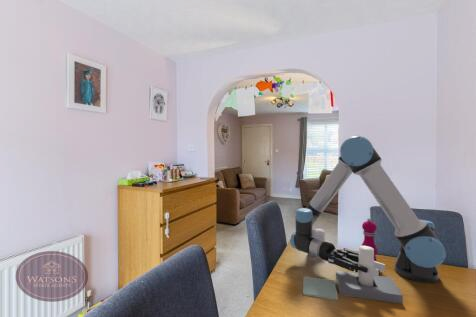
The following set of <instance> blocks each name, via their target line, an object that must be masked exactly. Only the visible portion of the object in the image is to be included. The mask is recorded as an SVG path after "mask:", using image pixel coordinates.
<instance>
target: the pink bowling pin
mask: <svg viewBox="0 0 476 317" xmlns="http://www.w3.org/2000/svg"><path fill="white" fill-rule="evenodd" d="M361 226H362V230H363V231H362V233H363V235H364V238H363V241H362V243H361V245H360V246H369V247H372V248H373V249H374V261H376V262H377V255H378V248H377V246H376V244H375V238H374V237H375V236H376V231H377V225H376V223H375V222H373V221H372V218H370V217H368V218H367V220H366V221H364V222H362V225H361Z"/></svg>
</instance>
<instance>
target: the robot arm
mask: <svg viewBox="0 0 476 317" xmlns="http://www.w3.org/2000/svg"><path fill="white" fill-rule="evenodd" d="M339 153H340V155H339V157H338V162H337V164H336V166H335V167H334V168H333V169H332V170H331V172H330V173H329V175H328V176H327V177H326V179H325V180H324V182H323V183H322V184H321V186H320V188H319V189H318V190H317V192H316V193H315V194H314V195H313V197H312V198H311V200H310V202H308V204H307V205H306V207H305V208H303V207H302V208H301V207H299V208H297V209H296V210H295V216H294V217H295V232H292V234H291V236H290V240H289V244H290V246H291V247H292V249H293V248H294V249H295V250H297V251H299V252H303V253H306V254H307V255H308V254H310V255H313V256H312V257H315V258H318V259H320V260H323V261H325V262H328V264H331V265H335V266H337V267H340V268H342V269H345V270H347V271H349V272H354V273H358V270H359V271H362V272H364V273H367V274H370V275H372V276H375V277H379V276H380V274H379V272H383V273H385V272H386V264H385V263H382V262H378V261H377V260H376V261H374V267H371V266H368V265H365V264H362V263H359V251H358V252H357V251H353V250H351V249H348V248H346V247H343V249H340V248H336V246H335V245H334V244H333V243H331V242H328V241H323V240H320V239H316V238H313V237H312V230H313V225H314V224H315V222H317V220H318V219H319V218H320V216H321V214H322V213H323V212H324V211H325V210H326V208H327V207H328V205H329V204H330V203H331V201H332V200H333V198H334V197H335V196H336V195H337V193H338V192H339V191H340V189H341V188H342V186H344V184H345V183H346V182H347V180H348V179H349V178H350V177H351V175H352V174H354V175H357V176H359V177H360V178H361V179H362V181H363V182H364V184H365V185H366V187H367V189H368V190H369V191H370V193H371V194H372V196H373V197H374V199H375V200H376V202H377V203H378V204H379V207H380V208H381V210H382V211H383V212H384V214H385V215H386V216H387V219H388V220H389V221H390V223H391V225H392V226H393V227H394V229H395V230H394V233H393V235H394V236H395V238H396V239H397V241H398V243H399V253H398V255H397V257H396V259H395V262H394V267H393V268H394V271H395V272H396V273H397V274H399V275H400V276H402V277H404V278H406V279H409V280H412V281H415V282H419V283H429V284H430V283H436V282H438V281H439V277H440V276H439V274H440V273H439V271H438V269H437V267H438V266H441V264H442V263H444V261H445V259H446V257H447V252H446V249H445V246H444V244H443V243H442V242H441V241H440V240H439V238H438V237H437V236H436V234H435V231H436V226H435V223H434V222H432V221H430V220H425V219H419V218H418V217H417V215H416V214H415V212H414V210H412V207H411V206H410V205H409V203H407V200H406V199H405V197H404V196H403V195H402V194H401V192H400V191H399V188H397V186H396V185H395V184H394V182H393V181H392V180H391V177H390V176H389V174H387V172H386V171H385V169H384V167H383V166H382V165H381V163H382V158H381V156H380V155H379V153H378V152H377V150H376V149H375V148H374V146H373V144H372V142H371V140H369V139H368V138H366V137H364V136H361V135H353V136H350V137H348V138H347V139H345V140H344V141H343V142H342V144H341V146H340V150H339ZM310 255H309V256H310Z"/></svg>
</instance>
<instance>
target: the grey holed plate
mask: <svg viewBox="0 0 476 317" xmlns="http://www.w3.org/2000/svg"><path fill="white" fill-rule="evenodd" d="M335 280H336V284H337V288H338V292H339V296H345V297H353V298H359V299H360V298H361V299H365V300H374V301H380V302H388V303H393V304H394V303H395V304H400V305H403V302H404V300H403V299H404V298H403V296H404V295H403V293H402V292H401V290H400V289H399V287H398V285H397V284H396V283H395V281H394V280H393V278H392V277H391V276H382V275H379V277H375V276H373V287H369V286H361V285H359V284H358V273H356V272H352V271H342V270H336V271H335Z"/></svg>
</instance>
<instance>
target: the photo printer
mask: <svg viewBox="0 0 476 317" xmlns="http://www.w3.org/2000/svg"><path fill="white" fill-rule="evenodd" d="M324 230H325V229H322V228H315V229H312V237H313V238H316V239H320V240H323V241H325V240H326V233H325V231H324ZM325 242H326V241H325ZM307 255H308V256H310V257H314V256H313V255H310V254H308V253H307Z"/></svg>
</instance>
